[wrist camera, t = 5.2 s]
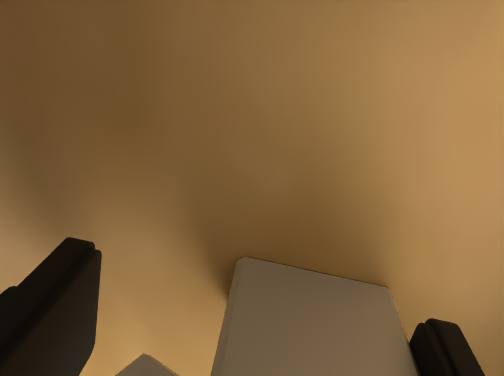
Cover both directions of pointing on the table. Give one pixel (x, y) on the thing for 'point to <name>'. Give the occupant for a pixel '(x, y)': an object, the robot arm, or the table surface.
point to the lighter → (302, 327)
